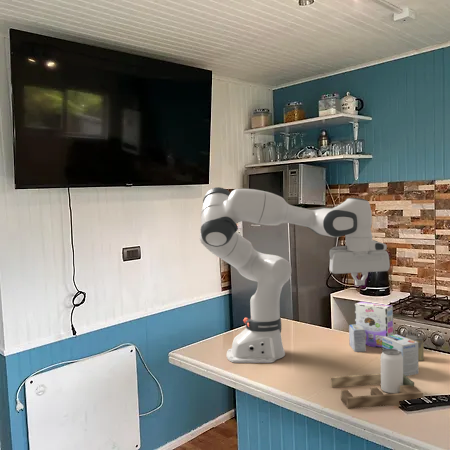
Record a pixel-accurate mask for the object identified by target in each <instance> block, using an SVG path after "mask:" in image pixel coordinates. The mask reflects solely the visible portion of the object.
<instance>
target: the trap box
mask: <svg viewBox="0 0 450 450" xmlns="http://www.w3.org/2000/svg"><path fill="white" fill-rule="evenodd" d="M329 379H330V387H331V388H342V387H343V388H344V387H358V386H369V385H370V386H372V385H381V372H380V373H368V374H355V375H354V374H353V375H340V376H339V375H338V376H330V378H329ZM369 388H370V395H355V396H354V395H353V394H352V393H351V392H350V391H349V389H346V388H345V389H340V401H341V402H342V403H343V405H344V406H345V407H346V408H347V410H350V409H351V410H352V409H365V408H376V407H391V406H392V407H393V406H400V405H399V401H403V400H411V399H417V398H423V399H424V397H423V394H424V393H423V392H422V391H421V390H420V389H419V388H417V387H416V386H415V382H414V381H413V380H412V379H410V378H409V376H405V375H404V374H403V385H401V386H400V393H395V394H390V393H386V394H385V393H384V392H382V391H381V390H380V389H379V387H375V386H374V387H369Z"/></svg>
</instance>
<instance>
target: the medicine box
mask: <svg viewBox="0 0 450 450" xmlns="http://www.w3.org/2000/svg"><path fill="white" fill-rule="evenodd" d="M348 337H349V339H348V340H349V347H351V349H352V350H353V351H354V352H355V353H359V352H360V353H361V352H362V353H363V352H366V351H367V345H366V341H365V329H364V328H363V327H362V326H361V325H360V324H349V325H348Z"/></svg>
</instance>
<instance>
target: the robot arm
mask: <svg viewBox="0 0 450 450" xmlns="http://www.w3.org/2000/svg"><path fill="white" fill-rule="evenodd" d="M202 203H203V204H202V207H201V211H200V212H201V213H200V224H201V225H200V226H201V227H200V233H199V241H200V243H201V244H202V245H203V247H205V248H206V249H207V250H208V251H209V252H210V253H212V254H213V255H214V256H215V257H217V258H219V259H221V260H222V261H224V262H225V263H227V264H229V265H231V266H232V267H233V268H234V269H236V271H237V273H239V275H241V276H242V277H243V278H245V279H246V280H250V281H253V282H257V286H256V289H255V290H256V291H255V293H254V294H252V296H251V297H250V301H249V303H250V304H249V305H250V308H249V309H250V318H248V317H244V319H243V320H242V321H243V323H244V324H245V328H244V329H243V330H242V331H240V333H238V334H237V335H236V336H234V338H233V340H232V344H231V348H228V349H227V351H226V358H227V360H228V361H229V362H231V363H236V364H237V363H239V364H240V363H243V364H247V363H249V364H251V363H252V364H253V363H259V364H261V363H266V364H267V363H275V361H277V360H279V359H282V358H283V357H285V355H286V352H285V348H284V344H283V342H282V339H283V338H282V319H281V317H280V316H281V315H280V298H281V293H282V289H283V287H284V286H285V284H287V283H288V282H289V280H290V278H291V276H292V271H293V270H292V265H291V263H290V261H288V260H287V259H286V258H284V257H282V256H279V255H277V254H276V255H275V254H268V253H262V252H260V251H258V250H256V249H255V248H254V247H253V244H252V241H250V240H248V239H247V238H245V237H243V236H242V235H241V234H240V233H238V232H237V231H238V230H239V227H238V223H240V222H247V223H251V224H257V225H262V226H280V225H281V224H292V225H296V226H301V227H304V228H307V229H310V230H311V231H312V232H313V233H314V234H316V235H319V236H322V237H323V236H327V237H330V238H331V237H332V238H339V237H343V236H345V237H344V238H345V245H340V246H338V245H336V246H333V247H331V248H330V249H329V252H328V253H329V272H330V273H331V274H334V275H338V274H350V275H351V277H352V279H353V280H354V285H355V286H356V287H357V286H360V287H361V286H365V285H366V279H368V275H369V273H373V272H374V273H375V272H376V273H377V272H388V271H389V270H390V267H391V266H390V265H391V263H390V255H389V253H388V251H387V249H388V245H387V244H386V243H384V242H380V241H378V240H374V239H373V233H372V224H373V220H372V219H373V216H372V209H371V204H370V202H369V201H368V200H367V199H365V198H358V197H356V198H355V197H349V198H346V199H345V200H344V201H343V202H342V203H340V204H339V205H336V206H334V207H332V208H330V207H329V208H328V207H318V208H314V209H308V208H305V207H299V206H295V205H292V204H289V203H288V202H287V201H286V200H285V198H283V197H282V196H280V195H278V194H276V193H273V192H269V191H264V190H260V189H254V188H235V189H233V190H231V192H230V191H229V190H228V189H226V188H224V187H212V188H210V189H208V190H207V191H206V193H205V195H204V197H203V200H202ZM359 273H361V275H362V277H361V278H360V279H358V278H357V276H358V274H359Z"/></svg>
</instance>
